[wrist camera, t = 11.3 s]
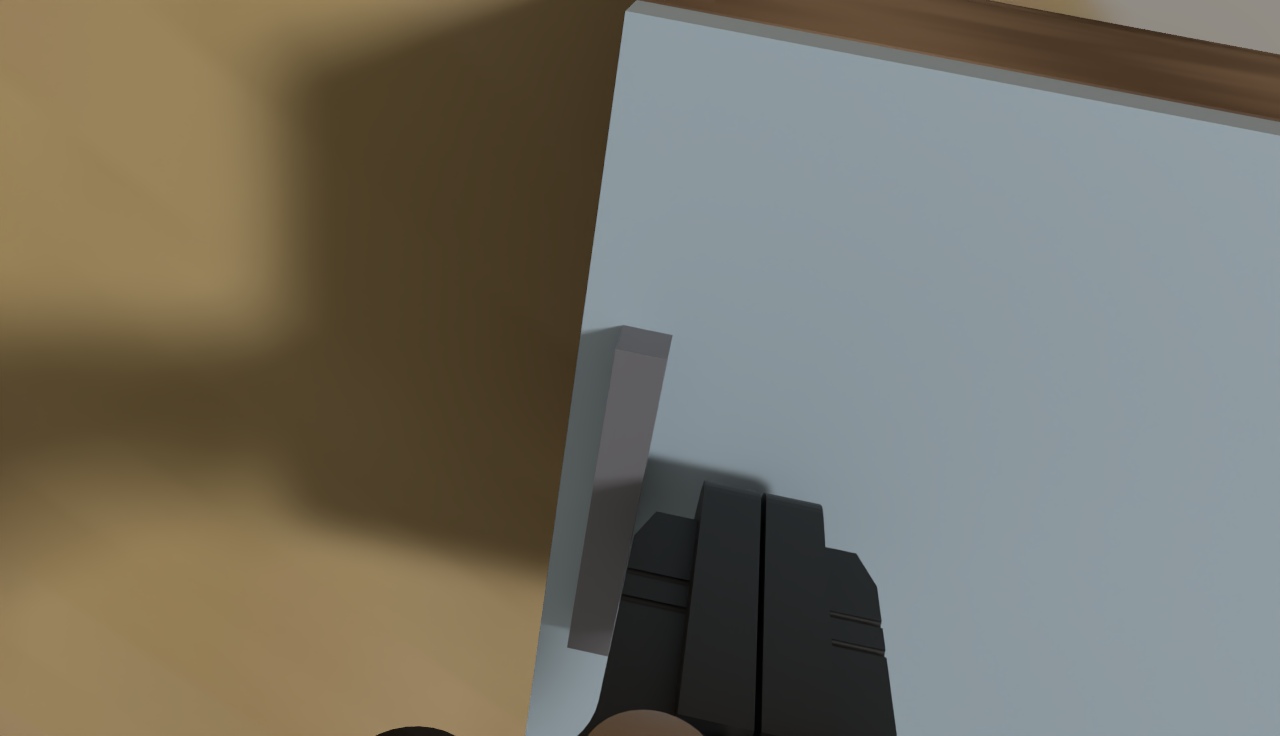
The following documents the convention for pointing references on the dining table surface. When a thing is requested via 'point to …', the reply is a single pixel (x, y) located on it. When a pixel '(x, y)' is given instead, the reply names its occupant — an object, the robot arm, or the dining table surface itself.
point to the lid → (940, 372)
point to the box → (1035, 46)
